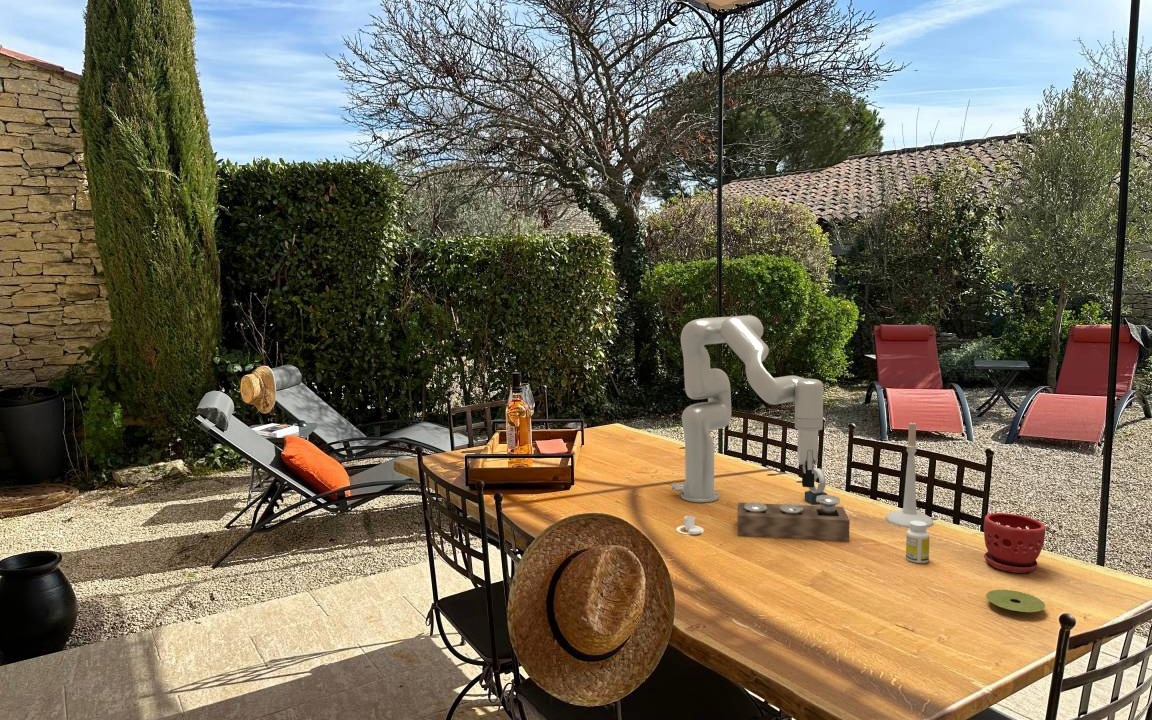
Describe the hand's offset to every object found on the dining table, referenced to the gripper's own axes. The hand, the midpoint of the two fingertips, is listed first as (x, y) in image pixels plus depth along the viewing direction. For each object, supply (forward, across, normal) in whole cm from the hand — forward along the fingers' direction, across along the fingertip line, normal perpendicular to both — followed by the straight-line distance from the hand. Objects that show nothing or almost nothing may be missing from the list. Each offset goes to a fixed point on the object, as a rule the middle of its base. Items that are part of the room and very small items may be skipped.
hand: (808, 486), depth 212 cm
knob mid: (+12, 0, -5) cm, 13 cm away
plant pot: (+14, +17, +48) cm, 53 cm away
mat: (+14, +42, +40) cm, 60 cm away
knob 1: (+12, 0, -15) cm, 19 cm away
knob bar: (+13, 0, -5) cm, 14 cm away
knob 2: (+9, 0, +5) cm, 10 cm away
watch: (+14, -29, +5) cm, 33 cm away
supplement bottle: (+14, +16, +26) cm, 33 cm away
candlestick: (+14, -15, +30) cm, 36 cm away
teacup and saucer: (+14, +6, -35) cm, 38 cm away
